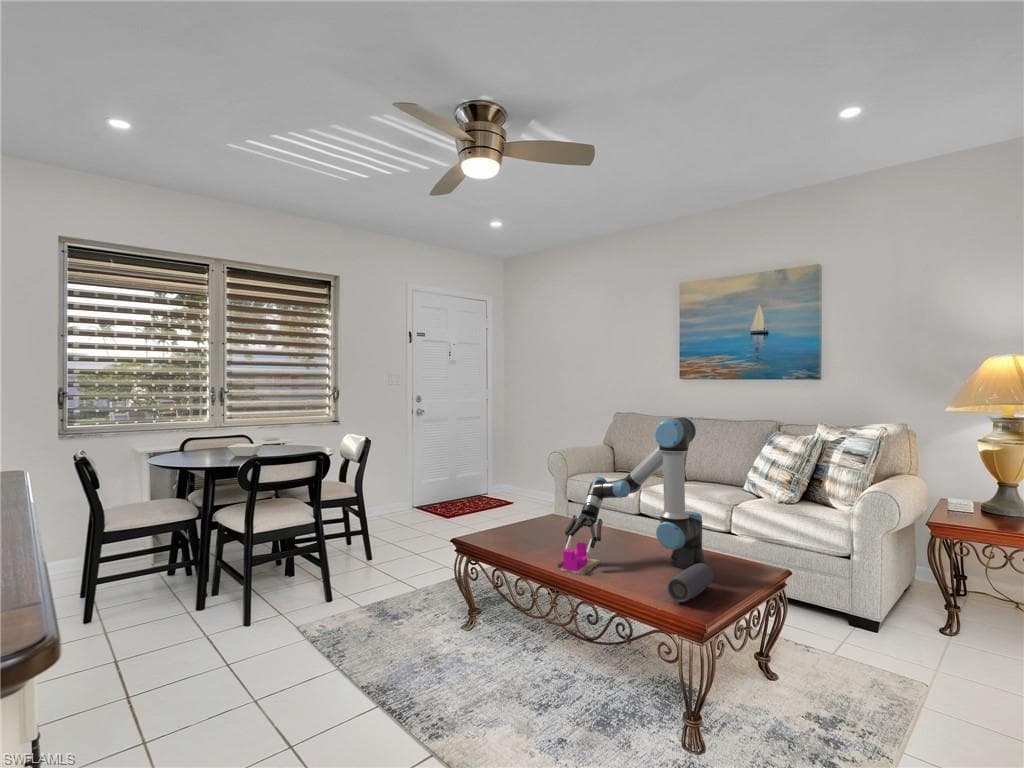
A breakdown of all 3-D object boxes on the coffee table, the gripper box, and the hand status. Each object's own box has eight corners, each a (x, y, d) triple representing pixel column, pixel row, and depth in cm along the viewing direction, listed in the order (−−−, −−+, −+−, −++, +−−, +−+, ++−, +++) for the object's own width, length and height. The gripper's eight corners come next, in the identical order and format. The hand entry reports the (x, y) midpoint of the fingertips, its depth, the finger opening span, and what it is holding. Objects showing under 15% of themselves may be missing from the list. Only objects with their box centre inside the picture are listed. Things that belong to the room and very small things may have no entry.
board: (600, 562, 239) (600, 557, 239) (583, 575, 224) (583, 569, 224) (575, 558, 245) (575, 552, 245) (557, 569, 230) (557, 564, 230)
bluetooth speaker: (691, 584, 214) (691, 559, 214) (714, 590, 208) (715, 564, 208) (665, 601, 197) (665, 574, 197) (690, 608, 190) (690, 580, 190)
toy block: (576, 571, 225) (576, 553, 225) (563, 568, 229) (563, 550, 229) (591, 561, 238) (591, 544, 238) (578, 559, 241) (578, 542, 241)
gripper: (616, 515, 243) (603, 560, 229) (571, 509, 254) (557, 552, 241) (612, 505, 239) (598, 551, 225) (567, 500, 250) (551, 543, 236)
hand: (577, 551), depth 233 cm, fingers open, 9 cm apart
